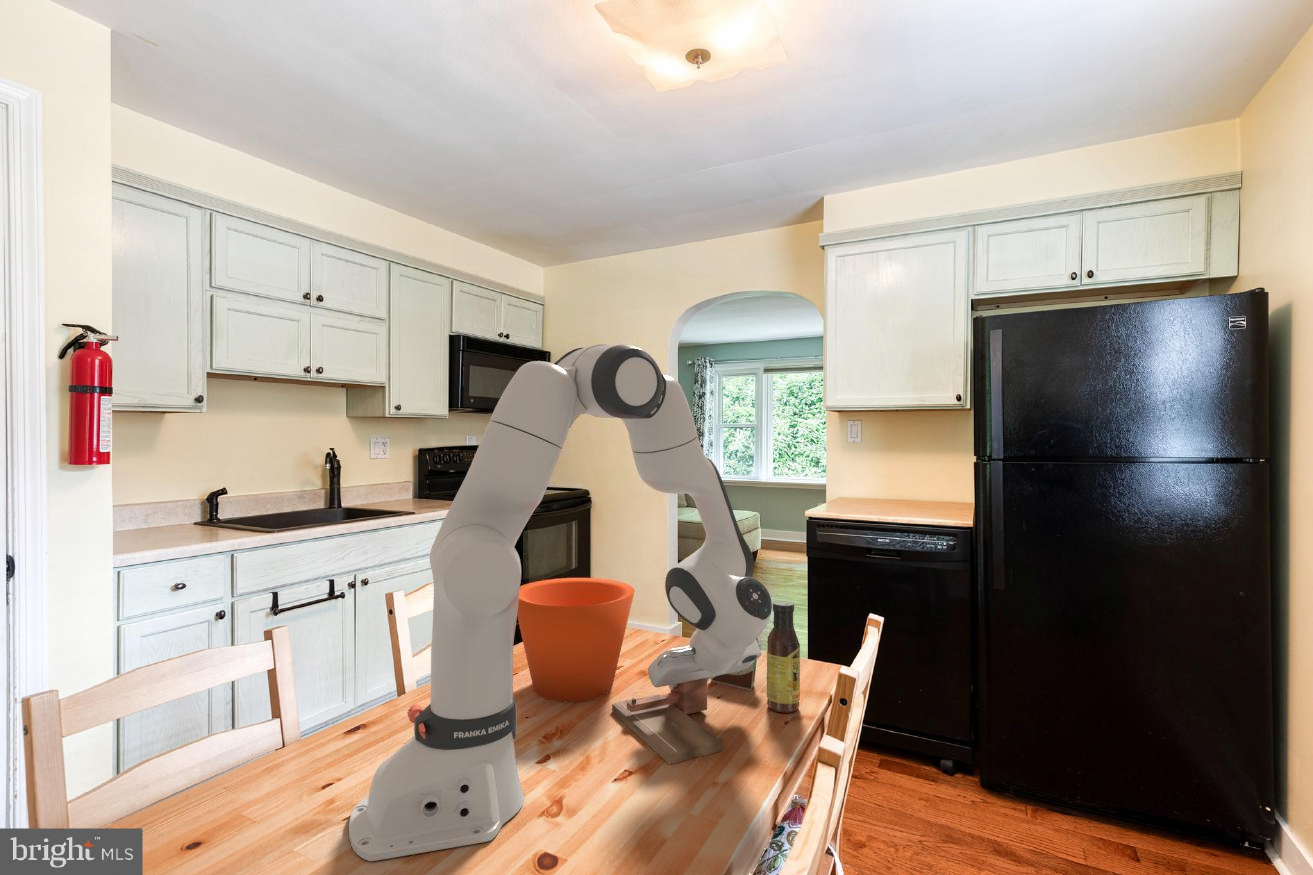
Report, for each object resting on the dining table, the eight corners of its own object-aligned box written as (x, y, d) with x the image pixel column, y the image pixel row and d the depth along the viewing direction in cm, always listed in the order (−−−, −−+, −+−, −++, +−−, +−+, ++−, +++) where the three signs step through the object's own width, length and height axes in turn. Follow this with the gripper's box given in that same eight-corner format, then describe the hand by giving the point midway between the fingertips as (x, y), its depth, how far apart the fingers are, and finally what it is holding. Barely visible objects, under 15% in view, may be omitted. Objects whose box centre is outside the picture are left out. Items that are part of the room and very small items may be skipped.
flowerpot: (602, 720, 117) (603, 611, 117) (486, 700, 125) (487, 599, 125) (651, 674, 140) (651, 583, 140) (550, 659, 149) (550, 574, 149)
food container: (770, 682, 136) (770, 635, 136) (758, 692, 130) (758, 642, 130) (717, 671, 142) (718, 625, 142) (704, 679, 137) (705, 632, 137)
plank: (669, 764, 101) (669, 754, 101) (612, 711, 120) (612, 703, 120) (722, 750, 106) (722, 740, 106) (659, 701, 125) (659, 693, 125)
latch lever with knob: (635, 726, 113) (635, 676, 113) (622, 715, 117) (623, 667, 117) (707, 709, 120) (707, 662, 120) (693, 699, 124) (693, 654, 124)
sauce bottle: (800, 715, 119) (800, 608, 119) (765, 712, 120) (766, 606, 121) (799, 701, 126) (800, 600, 126) (767, 698, 127) (767, 598, 127)
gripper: (670, 672, 106) (643, 709, 115) (769, 653, 116) (737, 689, 124) (658, 637, 110) (632, 676, 119) (754, 622, 120) (724, 659, 128)
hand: (687, 682), depth 122 cm, fingers closed on latch lever with knob, 5 cm apart
